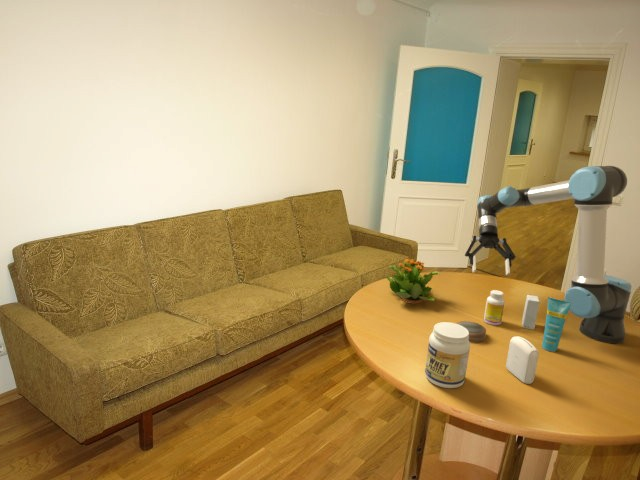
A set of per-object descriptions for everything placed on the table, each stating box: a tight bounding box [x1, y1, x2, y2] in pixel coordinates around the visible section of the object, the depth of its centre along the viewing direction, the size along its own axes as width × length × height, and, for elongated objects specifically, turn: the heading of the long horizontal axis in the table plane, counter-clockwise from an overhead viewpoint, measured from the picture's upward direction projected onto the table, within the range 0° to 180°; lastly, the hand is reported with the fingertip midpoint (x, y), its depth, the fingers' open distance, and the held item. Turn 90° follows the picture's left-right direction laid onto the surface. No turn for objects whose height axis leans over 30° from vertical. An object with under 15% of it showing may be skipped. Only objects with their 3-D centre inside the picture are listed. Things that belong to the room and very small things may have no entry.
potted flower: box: [384, 258, 441, 304], centre depth 201 cm, size 25×24×18 cm
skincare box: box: [521, 294, 540, 331], centre depth 182 cm, size 6×4×12 cm
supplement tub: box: [424, 321, 471, 389], centre depth 142 cm, size 12×12×17 cm
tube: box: [541, 296, 572, 353], centre depth 163 cm, size 7×5×19 cm, turn 60°
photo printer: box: [505, 335, 539, 385], centre depth 146 cm, size 10×4×12 cm, turn 15°
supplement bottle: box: [483, 289, 506, 326], centre depth 183 cm, size 7×7×13 cm
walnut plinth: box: [455, 320, 487, 343], centre depth 173 cm, size 11×11×3 cm
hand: (491, 272), depth 191 cm, fingers open, 13 cm apart
